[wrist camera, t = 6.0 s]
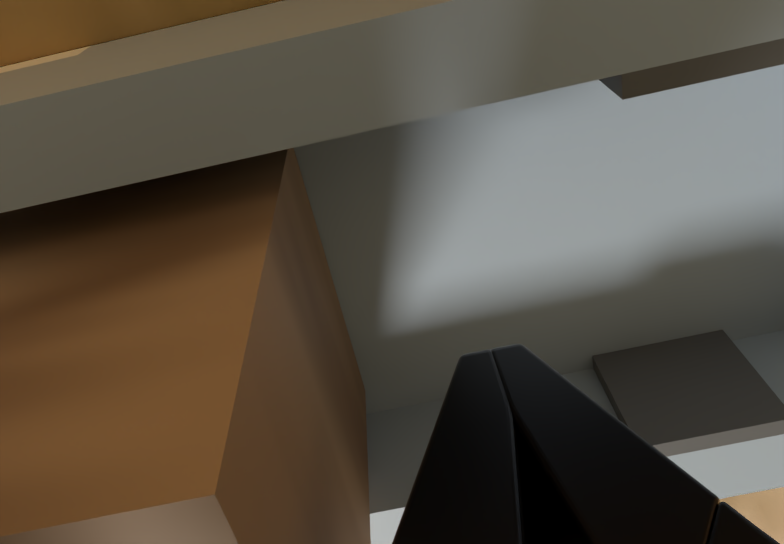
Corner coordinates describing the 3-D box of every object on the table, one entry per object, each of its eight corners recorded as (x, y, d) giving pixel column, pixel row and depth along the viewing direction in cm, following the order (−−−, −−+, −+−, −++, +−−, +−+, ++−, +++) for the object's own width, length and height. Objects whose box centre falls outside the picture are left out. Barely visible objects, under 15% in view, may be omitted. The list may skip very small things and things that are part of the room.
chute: (918, -149, 10) (1126, -155, 7) (847, 344, 14) (962, 452, 11) (-285, 134, 11) (-488, 218, 8) (-10, 515, 15) (-85, 650, 12)
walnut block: (290, 136, 11) (215, 494, 5) (365, 390, 13) (380, 841, 7) (-85, 221, 11) (-625, 659, 5) (57, 453, 13) (-183, 935, 7)
